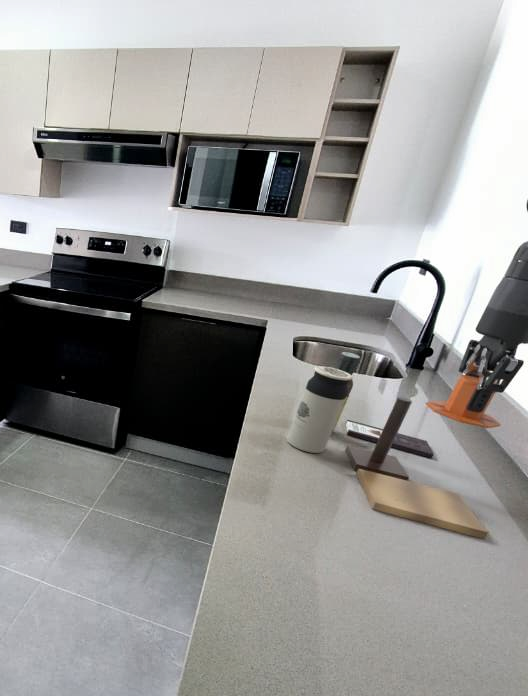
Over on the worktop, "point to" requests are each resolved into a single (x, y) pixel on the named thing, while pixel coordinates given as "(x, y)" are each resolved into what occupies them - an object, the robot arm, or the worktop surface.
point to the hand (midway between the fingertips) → (466, 404)
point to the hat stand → (383, 446)
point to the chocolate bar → (399, 442)
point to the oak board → (420, 503)
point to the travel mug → (319, 409)
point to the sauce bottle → (347, 365)
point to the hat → (463, 404)
